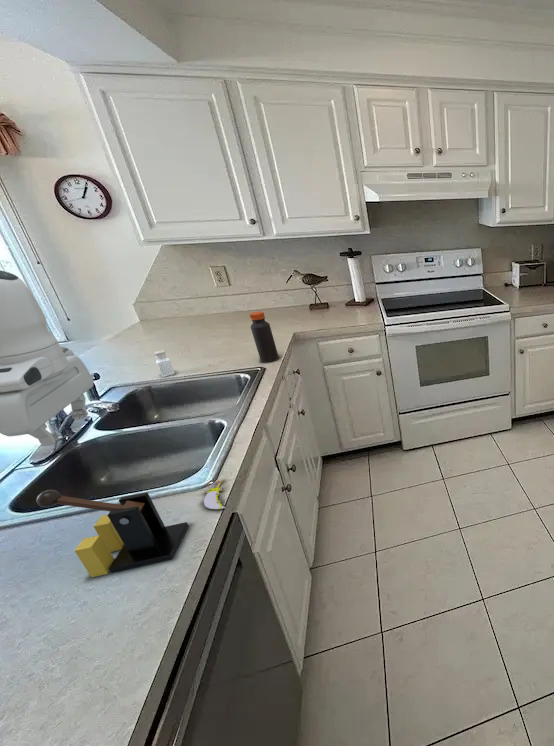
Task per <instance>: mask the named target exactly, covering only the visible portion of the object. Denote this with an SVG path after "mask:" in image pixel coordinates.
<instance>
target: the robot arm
mask: <svg viewBox="0 0 554 746" xmlns="http://www.w3.org/2000/svg"><path fill="white" fill-rule="evenodd" d="M93 387H94V378H93V376H92V374H91V372H90V370H89V369H88V368H87V366H86V364H85V363H84V361H83V360H82V359H81V358H80V357H79V356H77V355H75V353H74V351H73V350H72V349H69V348H68V347H65V346H61V344H60V343H59V341H58V339H57V337H56V336H55V335H54V334H53V333H51V331H50V330H49V328H48V325H47V317H46V315H45V312H44V311H43V310H42V307H41V305H40V303H39V302H38V300H37V299H36V297H35V296H34V294H33V293H32V291H31V290H30V288H29V287H28V285H27V284H26V283H25V282H24V281H23V280H22V279H21V278H20V277H19V276H18V275H16V274H14V273H11V272H8V271H5V270H0V434H1V435H3V436H6V437H17V436H24V435H29V436H30V437H33V438H34V439H37V440H38V442H39V444H40V445H41V446H42V447H50V446H54V445H55V444H56V443H57V442H59V437H58V435H57V432H50V431H49V430H47V429H48V425H47V424H46V423H47V422H49V421H50V420H51V419H53V417H56V415H58V414H59V413H60V412H61V411H63V410H64V409H65V408H67V407H68V406H70V407H71V411H70V412H69V413H70V416H71V417H72V419H73V420H74V421H79V420H84V419H85V418H86V417H87V416H88V415H89V413H88V411H87V408H86V396H85V393H86V392H88V391H89V390H90V389H92V388H93Z"/></svg>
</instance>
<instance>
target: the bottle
mask: <svg viewBox="0 0 554 746" xmlns="http://www.w3.org/2000/svg"><path fill="white" fill-rule="evenodd" d="M249 317H250V320H251V322H252V324H251V325H250V330H251V334H252V337H253V339H254V343H255V346H256V351H257V354H258V357H259V360H260V362H262V363H271V362H272V363H273V362H275V361H277V360H279V357H280V356H279V353H278V349H277V346H276V342H275V338H274V334H273V332H272V331H273V330H272V327H271V325H270V323H269V322H268V321H266V316H265V313H264V311H259V310H258V311H253V312H250V313H249Z"/></svg>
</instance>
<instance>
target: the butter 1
mask: <svg viewBox="0 0 554 746" xmlns="http://www.w3.org/2000/svg"><path fill="white" fill-rule="evenodd" d="M107 515H108V514H104V515H101V516H100V517H99V518H98V520H97V521H96V523H95V524H94V525H93V526H92V528H93V529H94V531H95V533H96V534H97V536H98V535H100V536H101V538H102V540H103V541H104V543H105V545H106V546H107V548H108V549H109V551H110V553H112V552H117V551H118V552H119V551H120V550H121V549H122V547H123V546H124V543H123V541H122V540H121V538H120V536H119V535H118V533H117V531H116V529H115V528H114V526H113V524H112V522H111V521H110V519H109V517H108V516H107Z"/></svg>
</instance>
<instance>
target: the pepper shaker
mask: <svg viewBox="0 0 554 746" xmlns="http://www.w3.org/2000/svg"><path fill="white" fill-rule="evenodd" d="M153 355H154V357H155V358H156V360H155V363H156V365H157V367H158V370H159V372H160V375H161V376H162V377H163V378H164V377H169V376H172V375H173V376H174V375H175V373H176V372H175V370H174V367H173V364H172V362H171V361H170V360H171V359H170V358H169V357H167V354H166V351H165V350H157V351H154V353H153Z"/></svg>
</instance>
